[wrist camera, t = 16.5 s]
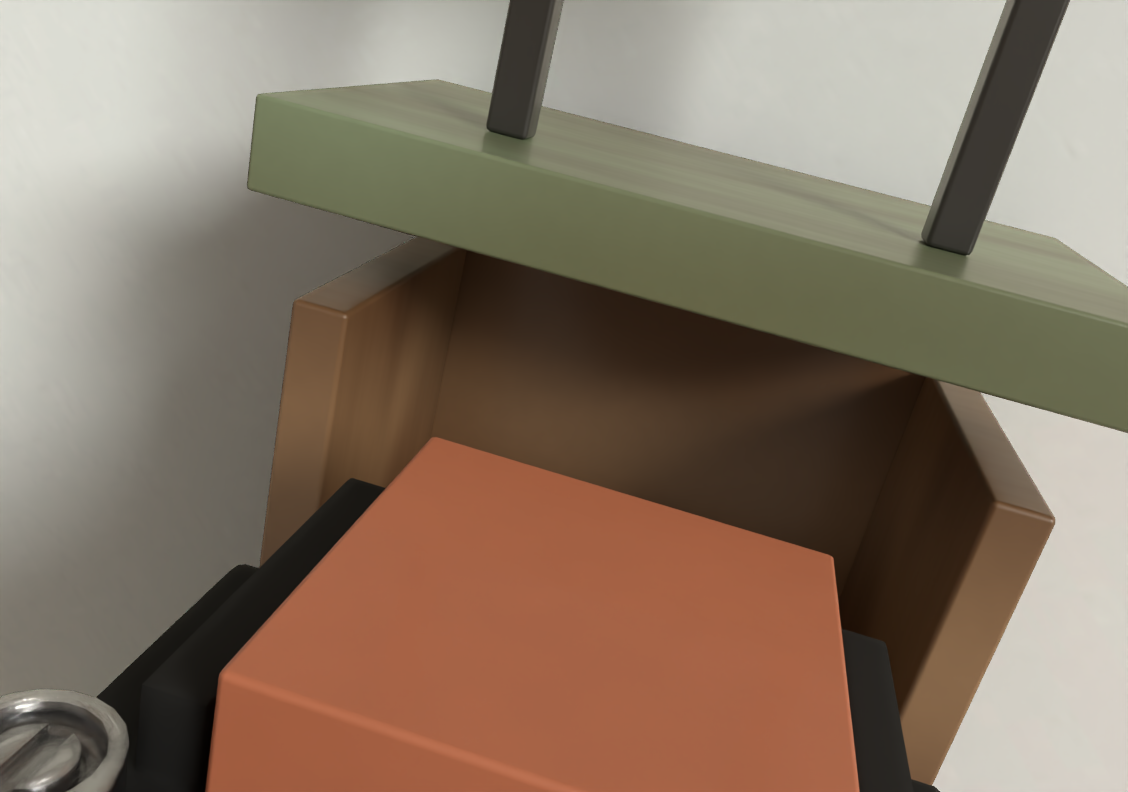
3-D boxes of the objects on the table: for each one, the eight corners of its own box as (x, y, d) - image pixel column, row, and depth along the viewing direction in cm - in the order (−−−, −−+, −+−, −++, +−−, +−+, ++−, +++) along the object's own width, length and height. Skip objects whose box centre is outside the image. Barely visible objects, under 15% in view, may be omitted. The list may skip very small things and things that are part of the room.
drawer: (514, -387, 16) (335, -686, 9) (1258, -239, 14) (1634, -466, 8) (336, 665, 23) (171, 894, 17) (812, 823, 22) (826, 1134, 16)
